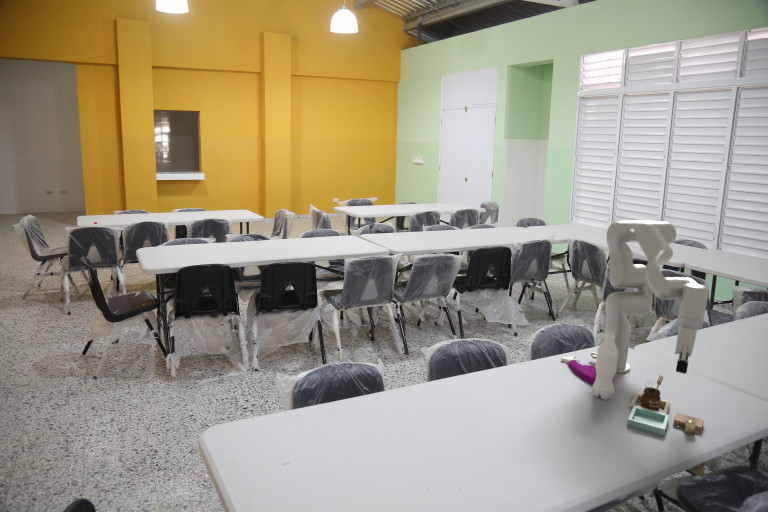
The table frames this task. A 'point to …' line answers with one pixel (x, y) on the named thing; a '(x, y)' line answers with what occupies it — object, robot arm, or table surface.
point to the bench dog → (689, 427)
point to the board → (682, 418)
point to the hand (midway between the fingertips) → (681, 371)
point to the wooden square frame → (662, 403)
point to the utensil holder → (651, 396)
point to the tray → (648, 421)
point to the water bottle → (606, 366)
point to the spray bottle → (581, 369)
